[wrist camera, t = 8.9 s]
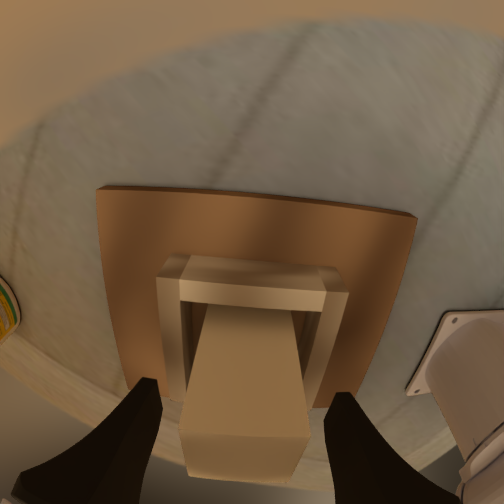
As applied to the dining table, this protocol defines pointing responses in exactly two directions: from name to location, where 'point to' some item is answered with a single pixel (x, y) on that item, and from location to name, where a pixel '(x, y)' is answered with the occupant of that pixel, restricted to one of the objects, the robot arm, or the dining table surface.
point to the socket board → (248, 277)
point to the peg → (245, 398)
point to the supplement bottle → (7, 312)
